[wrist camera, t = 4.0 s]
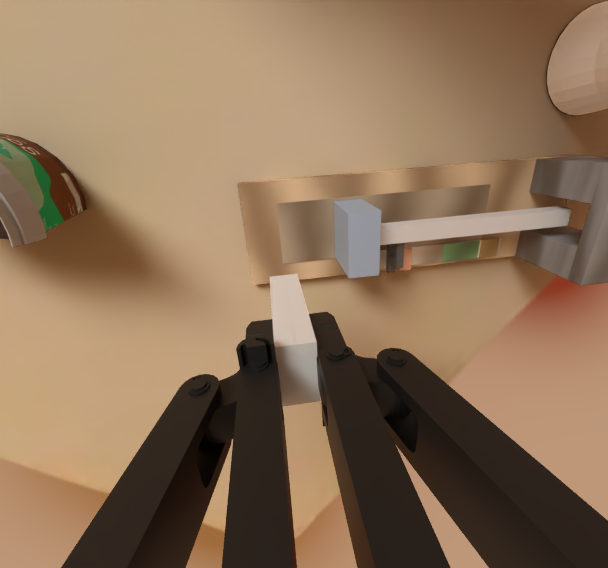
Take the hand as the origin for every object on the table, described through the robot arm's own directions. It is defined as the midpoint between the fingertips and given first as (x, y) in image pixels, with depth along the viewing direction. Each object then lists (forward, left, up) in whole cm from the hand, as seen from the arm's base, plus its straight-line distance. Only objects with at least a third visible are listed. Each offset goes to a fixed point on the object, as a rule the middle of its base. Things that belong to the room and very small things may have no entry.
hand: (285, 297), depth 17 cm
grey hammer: (+12, +8, -11) cm, 19 cm away
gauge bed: (+10, +7, -13) cm, 18 cm away
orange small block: (+11, +4, -11) cm, 16 cm away
